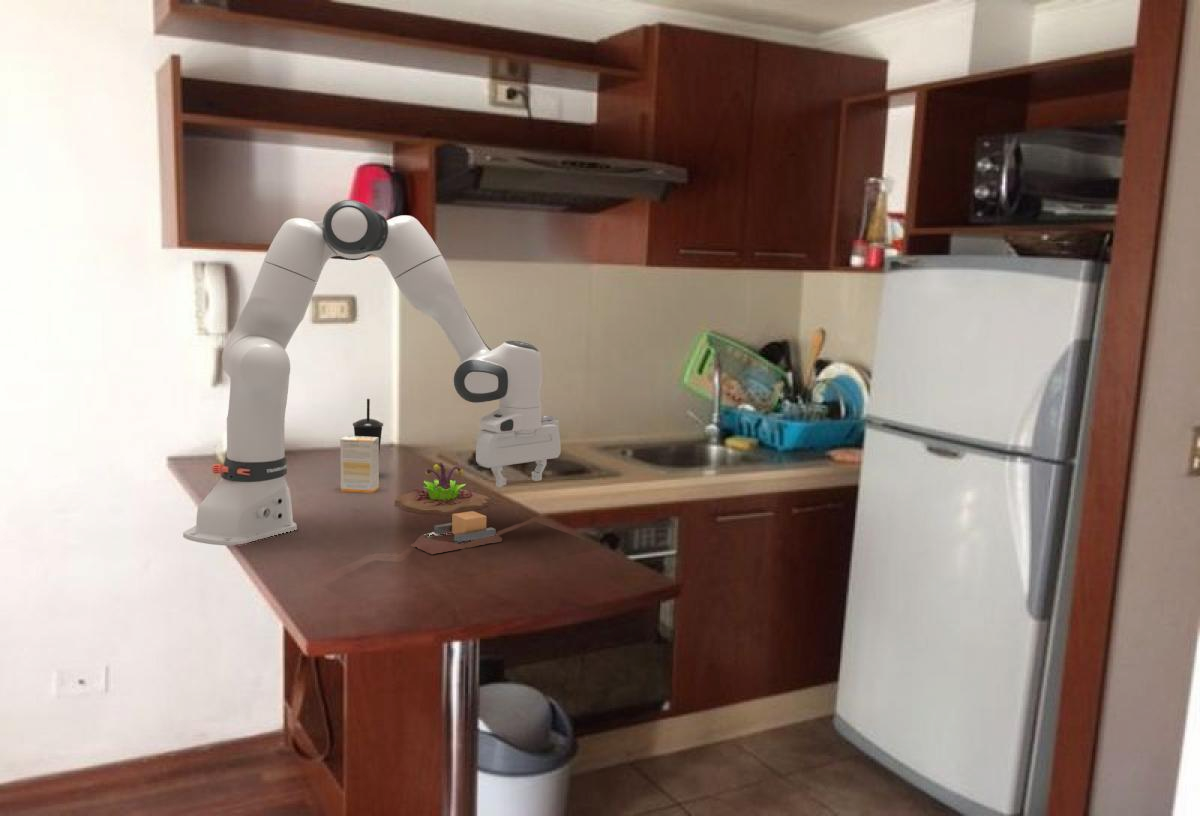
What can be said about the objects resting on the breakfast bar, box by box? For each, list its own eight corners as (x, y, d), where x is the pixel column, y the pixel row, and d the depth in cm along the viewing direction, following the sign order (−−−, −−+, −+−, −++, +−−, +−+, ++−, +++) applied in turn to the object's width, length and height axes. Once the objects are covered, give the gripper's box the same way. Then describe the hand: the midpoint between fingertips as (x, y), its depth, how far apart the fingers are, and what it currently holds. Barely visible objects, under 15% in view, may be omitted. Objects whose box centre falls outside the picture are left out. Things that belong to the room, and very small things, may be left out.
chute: (471, 529, 212) (472, 517, 212) (502, 541, 204) (502, 529, 204) (402, 541, 201) (402, 529, 201) (431, 555, 193) (432, 542, 193)
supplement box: (379, 489, 244) (380, 436, 242) (373, 494, 239) (373, 440, 237) (346, 487, 245) (346, 434, 243) (339, 491, 240) (339, 438, 238)
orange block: (472, 529, 209) (472, 510, 208) (485, 535, 205) (486, 516, 204) (451, 533, 205) (452, 514, 205) (465, 538, 202) (466, 519, 201)
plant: (378, 511, 226) (379, 462, 224) (432, 494, 243) (433, 449, 241) (451, 525, 216) (452, 474, 215) (501, 507, 234) (502, 460, 232)
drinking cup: (388, 475, 259) (390, 399, 256) (367, 480, 253) (368, 402, 250) (367, 471, 263) (368, 395, 260) (345, 475, 257) (346, 398, 254)
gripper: (549, 412, 219) (547, 474, 221) (471, 420, 206) (471, 486, 208) (567, 416, 215) (566, 479, 217) (489, 425, 201) (489, 492, 203)
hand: (519, 483), depth 212 cm, fingers open, 8 cm apart
